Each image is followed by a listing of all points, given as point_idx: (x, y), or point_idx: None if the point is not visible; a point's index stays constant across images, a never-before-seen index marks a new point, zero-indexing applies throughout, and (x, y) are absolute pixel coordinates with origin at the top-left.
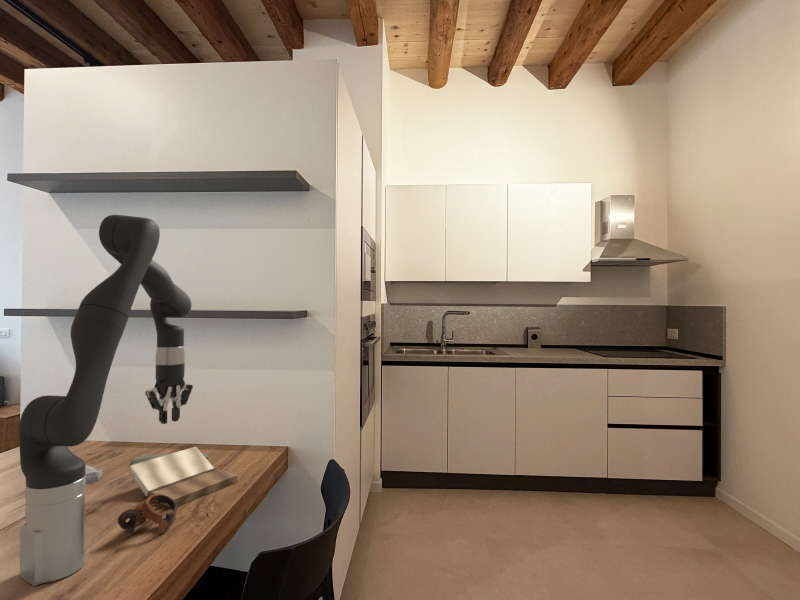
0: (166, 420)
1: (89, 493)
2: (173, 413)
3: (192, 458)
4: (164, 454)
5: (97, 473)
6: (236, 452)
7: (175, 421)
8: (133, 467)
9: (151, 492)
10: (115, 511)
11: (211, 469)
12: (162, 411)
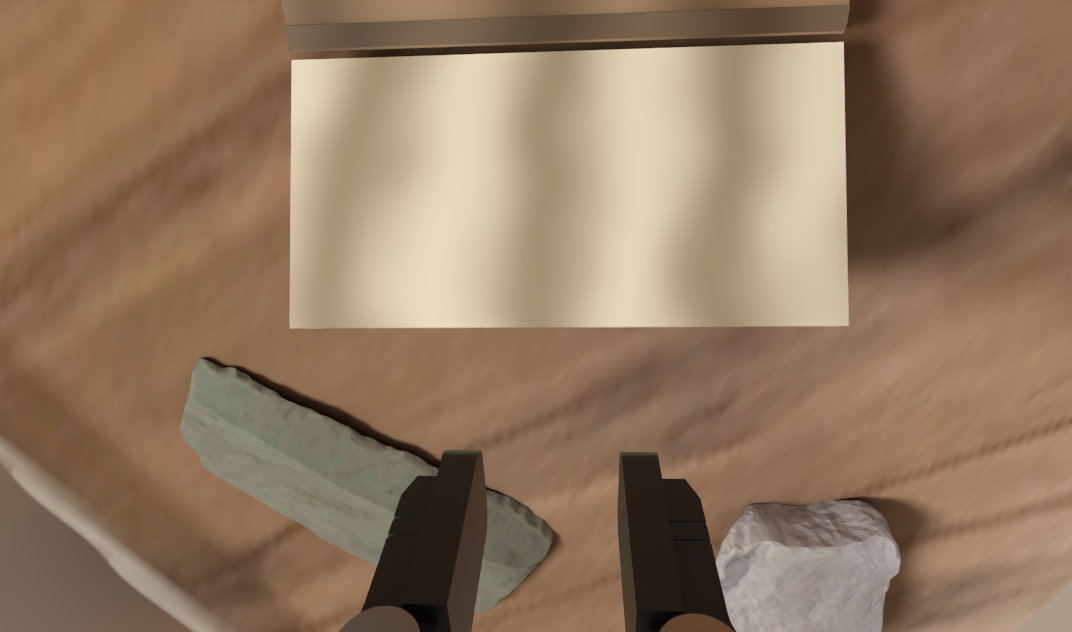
0: (638, 476)
1: (886, 398)
2: (469, 581)
3: (387, 215)
4: (371, 550)
5: (766, 534)
6: (18, 310)
7: (480, 455)
8: (836, 298)
9: (848, 2)
10: (1051, 27)
11: (320, 48)
12: (721, 629)
